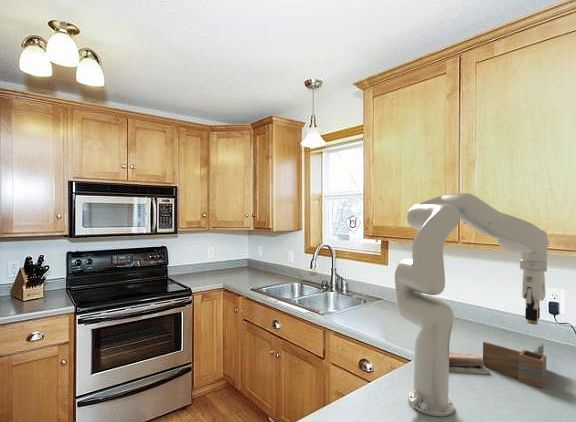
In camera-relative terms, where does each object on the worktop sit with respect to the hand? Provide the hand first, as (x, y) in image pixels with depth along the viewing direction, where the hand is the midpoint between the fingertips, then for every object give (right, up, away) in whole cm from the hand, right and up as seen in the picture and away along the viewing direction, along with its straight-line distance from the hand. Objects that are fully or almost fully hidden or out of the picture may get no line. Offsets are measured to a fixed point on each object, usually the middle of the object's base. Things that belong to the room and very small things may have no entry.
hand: (532, 318), depth 115 cm
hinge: (0, -22, +9) cm, 23 cm away
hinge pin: (0, -2, 0) cm, 2 cm away
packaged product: (-20, -22, +10) cm, 32 cm away
